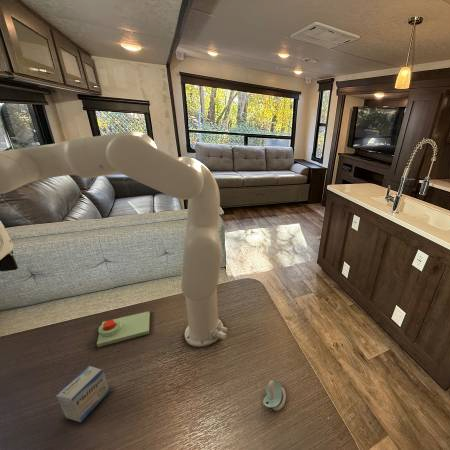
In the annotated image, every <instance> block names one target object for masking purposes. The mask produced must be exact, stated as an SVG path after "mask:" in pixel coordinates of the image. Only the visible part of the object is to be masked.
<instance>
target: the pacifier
mask: <svg viewBox="0 0 450 450" xmlns="http://www.w3.org/2000/svg"><path fill="white" fill-rule="evenodd" d="M265 393H266V395H265V396H264V398H263V400H262V405H263V406H264V407H266V408H270V409H273V410H274V411H280V410H281V409H283V408H284V406H285V403H286V400H287V393H286V390H285V388H284V387H283V386H282V385H281V383H280V382H279V381H278V380H276V379H271V380H269V381H268V382H267V383H266V387H265Z"/></svg>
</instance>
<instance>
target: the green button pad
mask: <svg viewBox="0 0 450 450" xmlns="http://www.w3.org/2000/svg"><path fill="white" fill-rule="evenodd" d="M150 317H151V312H150V311H144V312H139V313H135V314H131V315H126V316H123V317H122V316H121V317H119V318H114V319H112V320H114V321H115V327H114V328H113V329H111V330H107V331H106V330H104V326H103V324H104V323H105V322H106V321H107V320H104V321H102V322H101V325H100V326H98V329H97V330H98V337H97V341H96V346H97V348H101V347H104V346H108V345H112V344H116V343H119V342H123V341H127V340H131V339H135V338H138V337H142V336H146V335H149V334H150V323H151V322H150Z"/></svg>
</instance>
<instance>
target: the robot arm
mask: <svg viewBox="0 0 450 450" xmlns="http://www.w3.org/2000/svg"><path fill="white" fill-rule="evenodd" d="M119 173H121V174H122V175H124V176H126V177H128V178H129V179H132V180H134V181H135V182H138V183H141V184H142V185H145V186H147V187H149V188H151V189H154V190H156V191H157V192H160V193H163V194H164V195H167V196H170V197H172V198H175V199H178V200H184V201H185V200H187V218H186V226H185V227H186V228H185V232H184V236H183V246H182V247H183V249H182V250H183V251H182V264H181V280H180V281H181V283H180V288H181V289H180V290H181V291H182V294H183V295H184V296H185V305H186V314H187V322H188V325H187V327H186V328H185V331H184V339H185V341H186V343H187V344H188V345H190V346H192V347H199V348H200V347H201V348H202V347H207V346H210V345H212V344H213V343H215V342H217V341H218V340H219V339H220V340H224V341H225V340H226V338H227V335H228V334H227V331H228V328H227V327H225V326H224V324H223V322H222V320H220V319H219V310H218V290H217V289H218V285H219V282H220V281H219V279H220V271H221V265H222V254H223V251H222V242H221V238H220V233H219V224H220V210H221V209H220V207H221V195H220V188H219V185H218V183H217V181H216V178H215V176H214V175H213V173H212V171H210V169H209V168H208V167H207V166H206V165H205V164H204V163H202V162H201V161H199V160H197V159H195V158H193V157H192V156H191V157H190V156H185V155H184V156H179V157H176V158H175V157H174V156H172V155H171V154H170V155H169V154H168V153H166V152H164V151H162V150H161V149H159V148H158V147H157V145H156V143H155V142H154V140H153V139H152V138H151V137H150V136H149V135H148V134H146V133H144V132H141V131H124V132H117V133H108V134H103V135H96V136H89V137H82V138H74V139H67V140H62V141H60V142H56V143H50V144H43V145H42V144H41V145H34V146H26V147H21V148H13V149H8V150H7V149H6V150H1V151H0V195H4V194H8V193H10V192H12V191H15V190H16V189H18V188H21V187H23V186H25V185H27V184H30V183H32V182H37V181H40V180H41V181H42V180H45V179H46V180H47V179H52V178H59V177H64V176H65V177H66V176H77V177H79V178H82V179H93V178H99V177H102V176H103V177H104V176H109V175H114V174H119ZM18 269H19V266H18V264H17V262H16V259H15V257H14V243H13V241H12V239H11V234H10V233H8V232H7V229H6V227H5V225H4V224H3V222H2V221H1V220H0V272H9V271H16V270H18Z"/></svg>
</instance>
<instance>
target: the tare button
mask: <svg viewBox="0 0 450 450" xmlns="http://www.w3.org/2000/svg"><path fill="white" fill-rule="evenodd" d="M105 321H106V322H105ZM105 321H104V322H105V323H104V324H103V326H104V330H106V331H107V330H111V329H113V328H114V327H115V321H114V320H113V319H108V320H105Z"/></svg>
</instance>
